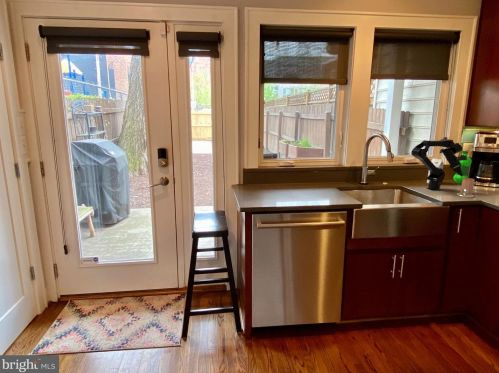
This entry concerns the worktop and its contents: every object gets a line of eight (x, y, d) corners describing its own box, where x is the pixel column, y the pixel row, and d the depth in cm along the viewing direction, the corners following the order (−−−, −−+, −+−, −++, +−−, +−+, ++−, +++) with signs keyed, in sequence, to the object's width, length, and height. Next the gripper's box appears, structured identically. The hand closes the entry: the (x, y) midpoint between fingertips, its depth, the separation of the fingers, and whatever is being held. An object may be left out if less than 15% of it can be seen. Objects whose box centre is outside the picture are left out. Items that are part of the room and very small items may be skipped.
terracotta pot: (465, 194, 221) (467, 179, 219) (458, 191, 227) (461, 177, 225) (474, 194, 222) (476, 179, 219) (467, 191, 228) (469, 177, 225)
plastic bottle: (462, 181, 262) (467, 150, 256) (470, 184, 252) (476, 152, 246) (449, 181, 262) (454, 149, 256) (457, 184, 252) (462, 151, 246)
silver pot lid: (463, 197, 212) (464, 190, 211) (453, 193, 221) (454, 187, 220) (477, 197, 213) (478, 190, 212) (466, 193, 222) (468, 187, 221)
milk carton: (430, 181, 258) (434, 157, 254) (440, 183, 253) (444, 159, 248) (426, 183, 254) (430, 158, 249) (436, 184, 248) (440, 159, 244)
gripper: (461, 149, 217) (475, 170, 213) (462, 150, 232) (475, 170, 229) (444, 158, 222) (457, 178, 219) (446, 158, 238) (458, 177, 234)
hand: (462, 175), depth 225 cm, fingers open, 9 cm apart
